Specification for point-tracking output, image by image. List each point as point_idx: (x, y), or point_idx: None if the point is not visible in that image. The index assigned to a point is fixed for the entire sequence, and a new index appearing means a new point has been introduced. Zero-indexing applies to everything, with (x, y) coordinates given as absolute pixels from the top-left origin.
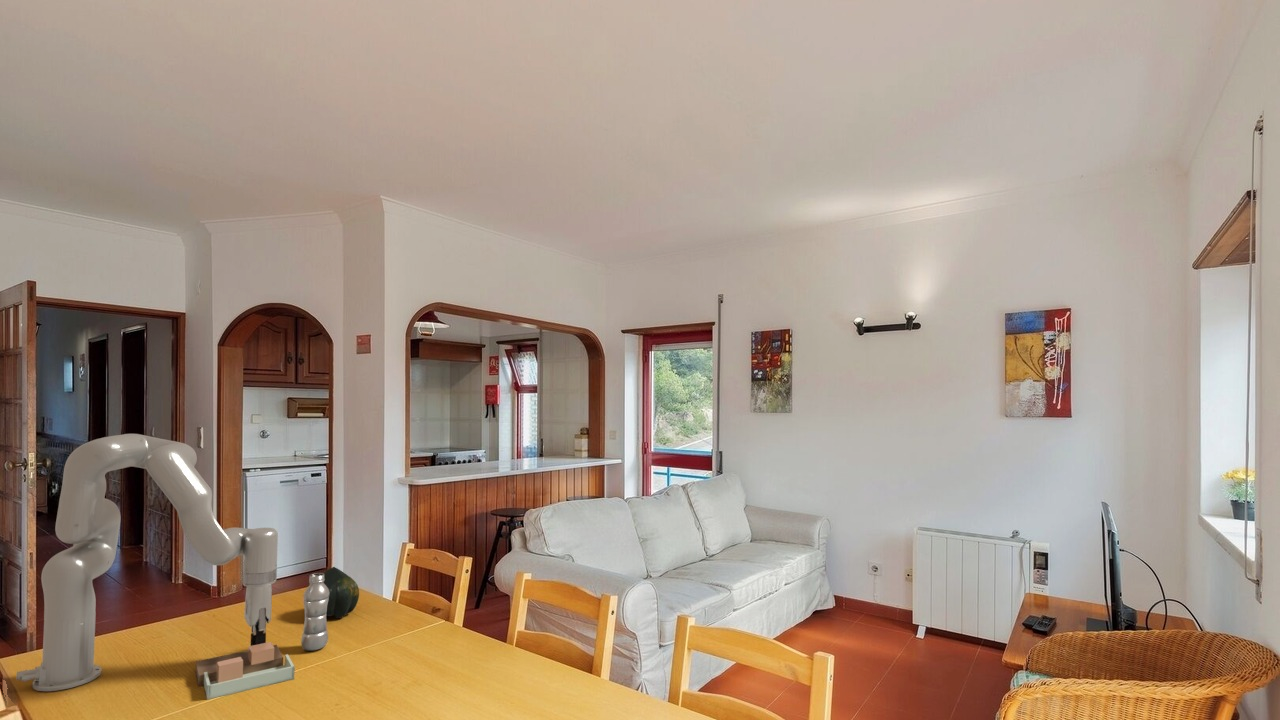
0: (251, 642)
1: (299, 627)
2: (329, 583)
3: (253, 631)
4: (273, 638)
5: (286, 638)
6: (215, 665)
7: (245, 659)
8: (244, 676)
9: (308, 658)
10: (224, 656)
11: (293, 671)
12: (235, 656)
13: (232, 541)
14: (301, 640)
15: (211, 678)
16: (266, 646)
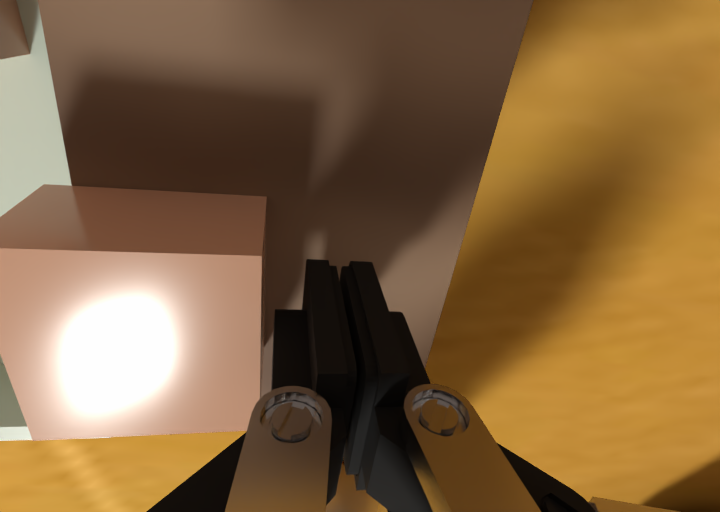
0: (321, 305)
1: (655, 467)
2: None
3: (275, 446)
4: (644, 372)
5: (582, 415)
6: None
7: (250, 172)
8: (31, 93)
9: (202, 457)
10: (495, 21)
11: None
12: (403, 114)
13: None
14: (346, 506)
15: None
16: (129, 393)
